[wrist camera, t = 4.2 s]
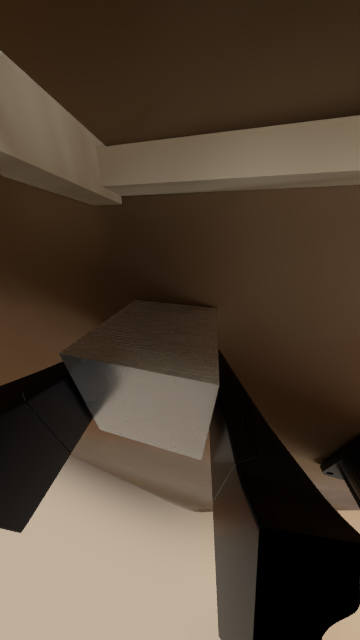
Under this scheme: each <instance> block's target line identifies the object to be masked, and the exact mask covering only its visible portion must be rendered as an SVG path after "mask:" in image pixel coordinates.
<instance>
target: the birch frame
mask: <svg viewBox="0 0 360 640" xmlns="http://www.w3.org/2000/svg"><path fill="white" fill-rule="evenodd" d="M0 175H1V176H4V177H7V178H10V179H13V180H16V181H19V182H22V183H25V184H28V185H31V186H35V187H38V188H41V189H44V190H47V191H50V192H53V193H56V194H59V195H62V196H65V197H68V198H71V199H75V200H78V201H81V202H84V203H87V204H90V205H119V204H122V199H121V196H132V195H153V194H174V193H195V192H216V191H237V190H258V189H279V188H300V187H321V186H342V185H360V115H358V116H349V117H341V118H333V119H325V120H317V121H309V122H301V123H292V124H284V125H276V126H268V127H260V128H252V129H243V130H235V131H227V132H219V133H211V134H203V135H194V136H186V137H178V138H170V139H162V140H154V141H146V142H137V143H129V144H121V145H113V146H105V145H104V144H103V143H102V142H101V141H100V140H98V139H97V138H96V137H95V136H94V135H93V134H92V133H91V132H90V131H89V130H87V129H86V128H85V127H84V126H83V125H82V124H81V123H80V122H79V121H78V120H76V119H75V118H74V117H73V116H72V115H71V114H70V113H69V112H68V111H67V110H65V109H64V108H63V107H62V106H61V105H60V104H59V103H58V102H57V101H56V100H54V99H53V98H52V97H51V96H50V95H49V94H48V93H47V92H46V91H45V90H43V89H42V88H41V87H40V86H39V85H38V84H37V83H36V82H35V81H34V80H32V79H31V78H30V77H29V76H28V75H27V74H26V73H25V72H24V71H23V70H21V69H20V68H19V67H18V66H17V65H16V64H15V63H14V62H13V61H12V60H10V59H9V58H8V57H7V56H6V55H5V54H4V53H3V52H2V51H1V50H0Z"/></svg>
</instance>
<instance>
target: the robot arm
mask: <svg viewBox="0 0 360 640" xmlns="http://www.w3.org/2000/svg"><path fill="white" fill-rule="evenodd" d="M218 361H219V389H218V393H217V397H216V401H215V405H214V409H213V413H212V417H211V422H210V426H209V431H210V453H211V475H212V497H213V520H214V540H215V541H214V542H215V563H216V585H217V607H218V628H219V637H220V639H221V640H322V636H323V635H324V634H325V632H326V631H327V630H328V628H329V627H331V626H332V625H333V624H335V623H336V622H338V621H340V620H342V619H344V618H346V617H348V616H350V615H352V614H353V613H355V612H356V611H357V609H358V607H359V605H360V534H359V533H358V532H357V531H356V530H355V529H354V528H353V527H352V526H351V525H350V524H349V523H348V522H347V521H346V520H344V519H343V517H341V515H340V514H339V513H338V512H337V511H336V510H335V509H334V508H333V507H332V506H331V504H330V503H329V502H328V501H327V500H326V499H325V498H324V496H323V495H322V494H321V493H320V491H319V490H318V489H317V488H316V486H315V485H314V484H313V482H312V481H311V480H310V479H309V477H308V476H307V475H306V473H305V472H304V471H303V469H302V468H301V467H300V466H299V464H298V463H297V462H296V460H295V459H294V458H293V457H292V455H291V454H290V453H289V451H288V450H287V449H286V447H285V446H284V445H283V444H282V442H281V441H280V440H279V438H278V437H277V436H276V434H275V433H274V432H273V430H272V429H271V427H270V426H269V425H268V423H267V422H266V420H265V419H264V418H263V416H262V415H261V413H260V412H259V410H258V409H257V407H256V405H255V404H254V403H253V402H252V399H251V398H250V396H249V395H248V393H247V392H246V390H245V389H244V387H243V386H242V384H241V382H240V381H239V379H238V378H237V376H236V375H235V373H234V372H233V370H232V369H231V367H230V366H229V364H228V362H227V361H226V359H225V358H224V356H223V355H222V353H221V352H220V350H219V349H218ZM92 419H93V416H92V414H91V412H90V410H89V408H88V406H87V404H86V403H85V401H84V399H83V397H82V395H81V393H80V391H79V390H78V388H77V386H76V384H75V382H74V380H73V378H72V377H71V375H70V373H69V371H68V369H67V367H66V365H65V364H64V362H60V363H58V364H56V365H53V366H51V367H48V368H46V369H44V370H41V371H39V372H36V373H33V374H31V375H28V376H26V377H23V378H20V379H18V380H15V381H12V382H10V383H7V384H4V385H2V386H0V528H2V529H6V530H10V531H14V532H19V533H21V532H22V530H23V529H24V527H25V526H26V525H27V523H28V522H29V520H30V518H31V517H32V515H33V514H34V512H35V510H36V509H37V507H38V506H39V504H40V502H41V501H42V499H43V498H44V496H45V494H46V492H47V491H48V489H49V488H50V486H51V485H52V483H53V481H54V480H55V478H56V477H57V475H58V473H59V472H60V470H61V468H62V467H63V465H64V464H65V462H66V461H67V459H68V457H69V456H70V454H71V452H72V451H73V449H74V448H75V446H76V444H77V443H78V441H79V440H80V438H81V436H82V435H83V433H84V432H85V430H86V428H87V427H88V425H89V424H90V422H91V420H92ZM320 468H321V470H322V472H323V474H325V475H328V476H331V477H335V478H339V479H342V480H344V481H345V482H346V484H347V486H348V488H349V490H350V492H351V493H352V495H353V497H354V499H355V501H356V502H357V504H358V506H359V508H360V437H359V438H358V439H357V440H355V441H354V442H352V443H351V444H350V445H348V446H347V447H345V448H344V449H343V450H341V451H340V452H338V453H337V454H336V455H334V456H333V457H331V458H330V459H328V460H327V461H326V462H324V463H323V464H321V465H320Z"/></svg>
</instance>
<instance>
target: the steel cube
mask: <svg viewBox="0 0 360 640" xmlns="http://www.w3.org/2000/svg"><path fill="white" fill-rule="evenodd" d="M59 354H60V356H61V358H62V360H63V362H64V364H65V365H66V367H67V369H68V371H69V373H70V375H71V377H72V378H73V380H74V382H75V384H76V386H77V388H78V390H79V391H80V393H81V395H82V397H83V399H84V401H85V403H86V404H87V406H88V408H89V410H90V412H91V414H92V416H93V418H94V419H95V421H96V423H97V425H98V427H99V429H100V430H103V431H106V432H110V433H113V434H116V435H119V436H123V437H126V438H129V439H133V440H136V441H139V442H142V443H146V444H149V445H152V446H156V447H159V448H162V449H166V450H169V451H172V452H175V453H179V454H182V455H185V456H189V457H192V458H195V459H198V460H201V459H202V455H203V451H204V446H205V442H206V438H207V434H208V430H209V426H210V422H211V417H212V413H213V409H214V405H215V401H216V397H217V393H218V389H219V361H218V331H217V308H211V307H202V306H192V305H182V304H172V303H162V302H152V301H143V300H135V301H133V302H132V303H130V304H129V305H128V306H126V307H125V308H123V309H122V310H120V311H119V312H117V313H116V314H115V315H113V316H112V317H110V318H109V319H107V320H106V321H104V322H103V323H102V324H100V325H99V326H97V327H96V328H94V329H93V330H91V331H90V332H89V333H87V334H86V335H84V336H83V337H81V338H80V339H79V340H77V341H76V342H74V343H73V344H71V345H70V346H68V347H67V348H66V349H64V350H63V351H61V352H60V353H59Z"/></svg>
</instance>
